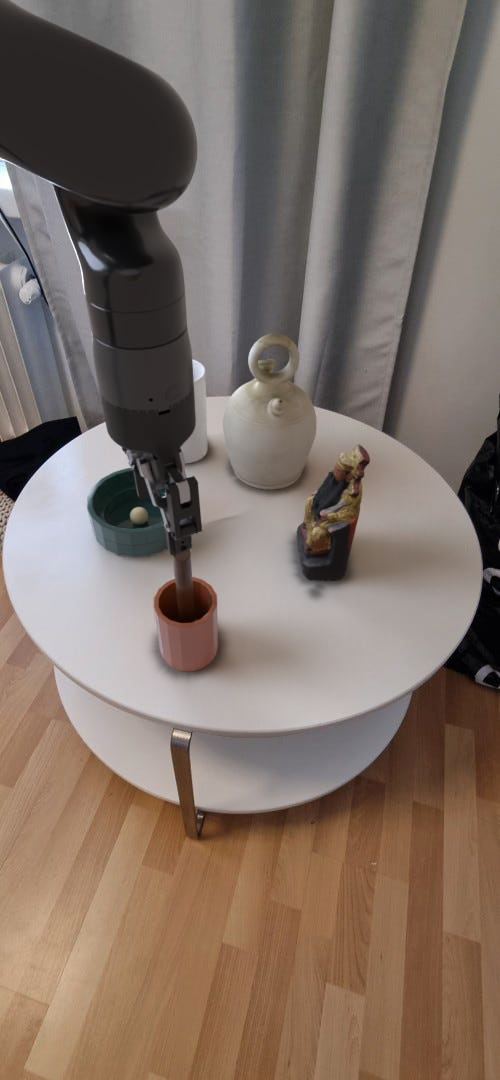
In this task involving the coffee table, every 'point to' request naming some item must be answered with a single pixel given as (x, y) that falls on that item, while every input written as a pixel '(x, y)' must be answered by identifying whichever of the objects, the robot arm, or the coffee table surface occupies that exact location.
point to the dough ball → (139, 516)
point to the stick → (184, 587)
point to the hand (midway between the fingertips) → (163, 522)
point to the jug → (269, 421)
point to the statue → (332, 518)
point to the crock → (187, 627)
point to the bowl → (124, 517)
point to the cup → (197, 418)
